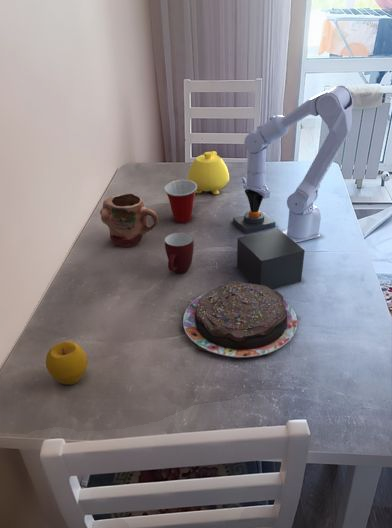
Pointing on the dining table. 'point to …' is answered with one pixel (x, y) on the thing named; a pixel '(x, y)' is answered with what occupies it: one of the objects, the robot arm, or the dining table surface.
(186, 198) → the plastic cup
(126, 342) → the dining table surface
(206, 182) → the teapot
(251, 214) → the button
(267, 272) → the black block
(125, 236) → the brown clay mug
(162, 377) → the dining table surface
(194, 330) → the chocolate cake
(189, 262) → the mug
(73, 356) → the apple
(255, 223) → the control block
